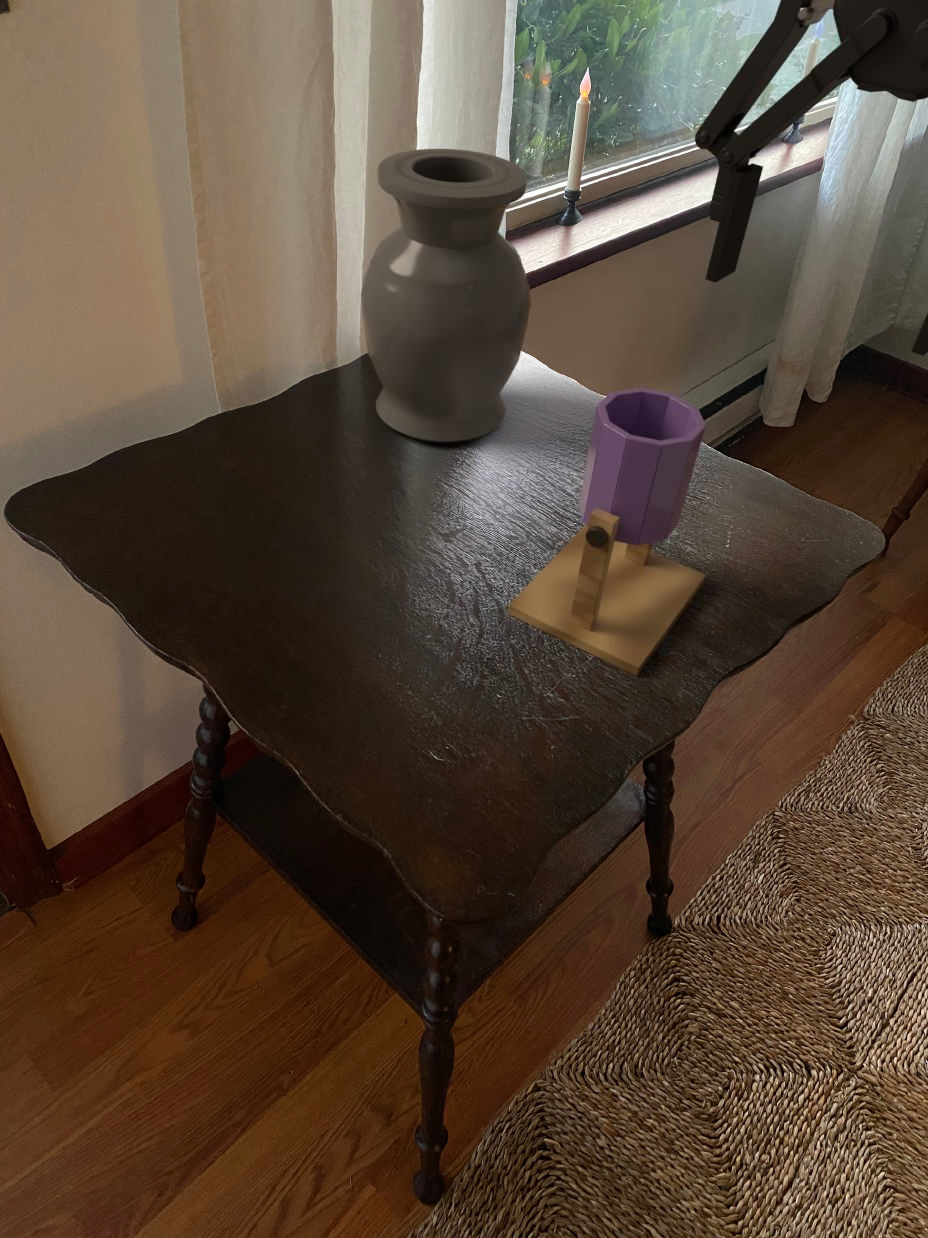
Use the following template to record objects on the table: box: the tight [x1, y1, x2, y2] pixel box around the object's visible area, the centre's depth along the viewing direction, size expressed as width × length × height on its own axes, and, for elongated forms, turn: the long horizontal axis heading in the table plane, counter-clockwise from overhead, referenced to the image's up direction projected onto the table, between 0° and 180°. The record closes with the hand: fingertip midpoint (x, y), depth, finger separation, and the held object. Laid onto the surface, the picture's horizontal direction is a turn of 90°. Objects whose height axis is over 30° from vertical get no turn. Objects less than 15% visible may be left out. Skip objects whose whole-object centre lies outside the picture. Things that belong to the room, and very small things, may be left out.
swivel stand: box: [507, 508, 707, 677], centre depth 73 cm, size 12×14×12 cm
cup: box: [578, 387, 707, 546], centre depth 68 cm, size 8×9×9 cm
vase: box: [360, 148, 532, 444], centre depth 89 cm, size 17×17×25 cm
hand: (817, 309), depth 56 cm, fingers open, 13 cm apart
